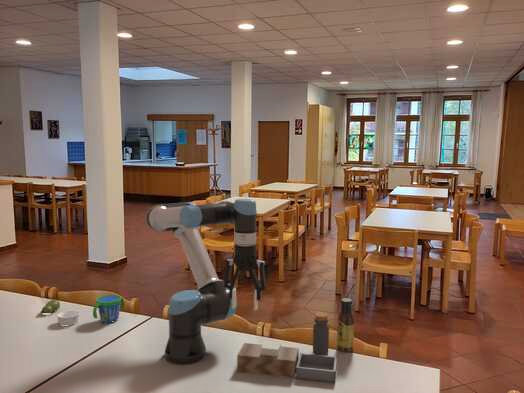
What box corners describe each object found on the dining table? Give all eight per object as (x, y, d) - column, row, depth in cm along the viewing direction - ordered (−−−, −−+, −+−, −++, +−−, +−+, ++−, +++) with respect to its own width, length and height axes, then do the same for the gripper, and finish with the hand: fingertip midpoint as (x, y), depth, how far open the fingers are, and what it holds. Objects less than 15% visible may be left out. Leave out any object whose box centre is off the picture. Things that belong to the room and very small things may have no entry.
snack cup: (100, 328, 195) (99, 305, 194) (86, 322, 201) (86, 300, 200) (131, 318, 207) (131, 296, 206) (117, 312, 213) (117, 291, 212)
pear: (61, 298, 217) (47, 308, 207) (63, 308, 218) (49, 319, 209) (51, 297, 218) (36, 307, 208) (53, 307, 219) (38, 317, 210)
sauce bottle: (335, 345, 180) (336, 296, 178) (351, 345, 180) (353, 296, 178) (338, 353, 174) (339, 302, 171) (354, 353, 173) (356, 302, 171)
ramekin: (74, 327, 196) (74, 317, 196) (53, 327, 196) (53, 317, 196) (82, 319, 205) (82, 310, 205) (63, 319, 205) (62, 310, 205)
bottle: (327, 356, 170) (328, 317, 169) (312, 355, 171) (312, 316, 170) (328, 350, 176) (329, 312, 174) (313, 348, 177) (314, 311, 175)
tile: (261, 354, 158) (261, 347, 158) (264, 347, 164) (264, 340, 164) (278, 356, 157) (278, 349, 157) (281, 349, 163) (281, 342, 163)
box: (295, 378, 154) (296, 367, 154) (299, 363, 165) (300, 353, 164) (335, 383, 151) (335, 371, 151) (336, 367, 162) (336, 356, 162)
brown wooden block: (237, 371, 159) (237, 355, 158) (244, 358, 168) (244, 342, 168) (294, 377, 155) (294, 361, 154) (298, 364, 164) (298, 348, 164)
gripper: (214, 244, 157) (214, 309, 159) (271, 247, 153) (271, 314, 155) (220, 240, 164) (220, 302, 167) (275, 243, 160) (275, 306, 163)
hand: (245, 308), depth 161 cm, fingers open, 7 cm apart
